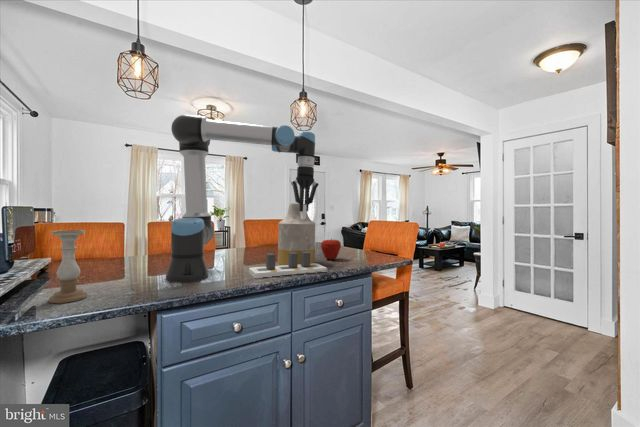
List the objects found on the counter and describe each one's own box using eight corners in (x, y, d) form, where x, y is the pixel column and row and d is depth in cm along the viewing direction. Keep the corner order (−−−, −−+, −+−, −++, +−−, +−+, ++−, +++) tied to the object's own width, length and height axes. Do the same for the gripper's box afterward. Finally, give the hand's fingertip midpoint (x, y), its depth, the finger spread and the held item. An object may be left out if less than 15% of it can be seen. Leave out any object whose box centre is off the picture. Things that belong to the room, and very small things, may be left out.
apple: (331, 257, 170) (332, 236, 170) (344, 260, 162) (345, 238, 162) (316, 259, 163) (317, 237, 163) (329, 262, 155) (330, 239, 155)
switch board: (254, 278, 117) (254, 272, 117) (248, 272, 128) (248, 266, 128) (327, 272, 131) (327, 267, 131) (316, 267, 142) (316, 262, 142)
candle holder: (44, 299, 87) (44, 230, 87) (81, 293, 94) (81, 229, 94) (54, 305, 82) (54, 232, 82) (92, 298, 89) (92, 231, 89)
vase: (308, 268, 138) (309, 203, 137) (271, 266, 143) (272, 202, 142) (318, 262, 156) (319, 204, 155) (286, 259, 160) (286, 203, 160)
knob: (303, 266, 131) (304, 253, 131) (300, 265, 134) (301, 252, 134) (310, 266, 132) (310, 252, 132) (306, 264, 135) (307, 251, 135)
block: (268, 269, 124) (268, 255, 124) (266, 267, 127) (266, 253, 127) (275, 268, 125) (275, 254, 125) (272, 267, 128) (273, 253, 128)
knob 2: (290, 267, 128) (291, 253, 128) (288, 266, 131) (288, 252, 131) (297, 267, 129) (297, 253, 129) (294, 265, 133) (294, 252, 133)
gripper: (294, 164, 128) (292, 218, 129) (322, 167, 134) (319, 219, 134) (289, 166, 135) (287, 217, 136) (315, 169, 141) (313, 218, 141)
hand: (303, 218), depth 135 cm, fingers closed
